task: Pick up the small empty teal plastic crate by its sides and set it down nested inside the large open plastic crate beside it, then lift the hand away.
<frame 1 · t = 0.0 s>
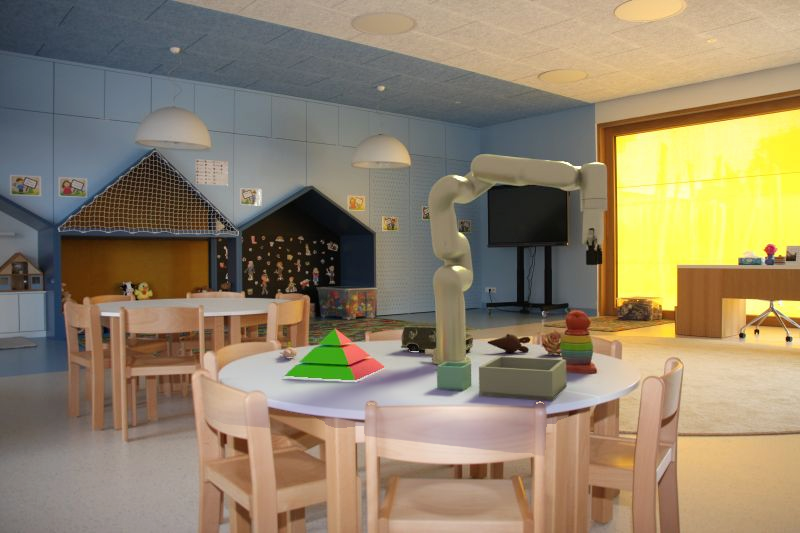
hand: (594, 264, 190), 31 cm above the table, tool pointing down, fingers open, 9 cm apart
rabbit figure: (289, 359, 224), on the table
toy van: (437, 352, 234), on the table
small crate: (454, 387, 171), on the table
icecream: (509, 353, 228), on the table
big crate: (524, 390, 165), on the table
stacking bear: (578, 370, 193), on the table
pyramid toy: (335, 376, 194), on the table
flower: (554, 355, 221), on the table
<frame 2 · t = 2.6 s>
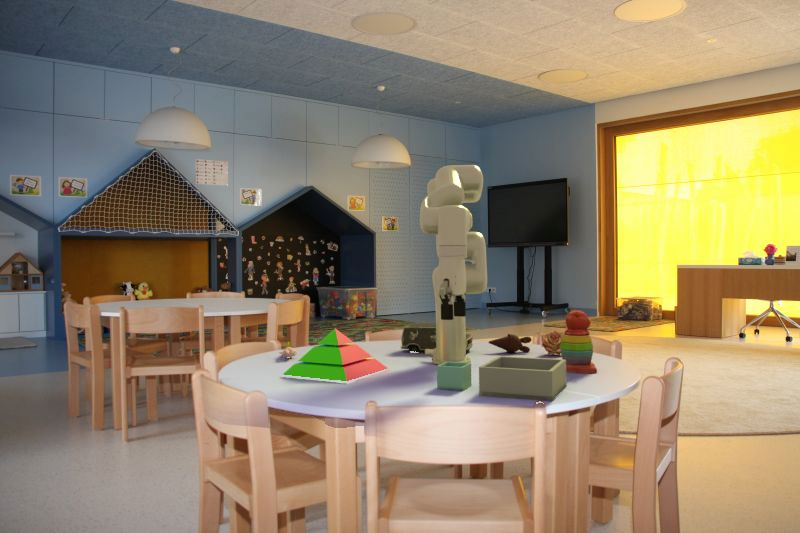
hand: (453, 318, 170), 18 cm above the table, tool pointing down, fingers open, 9 cm apart
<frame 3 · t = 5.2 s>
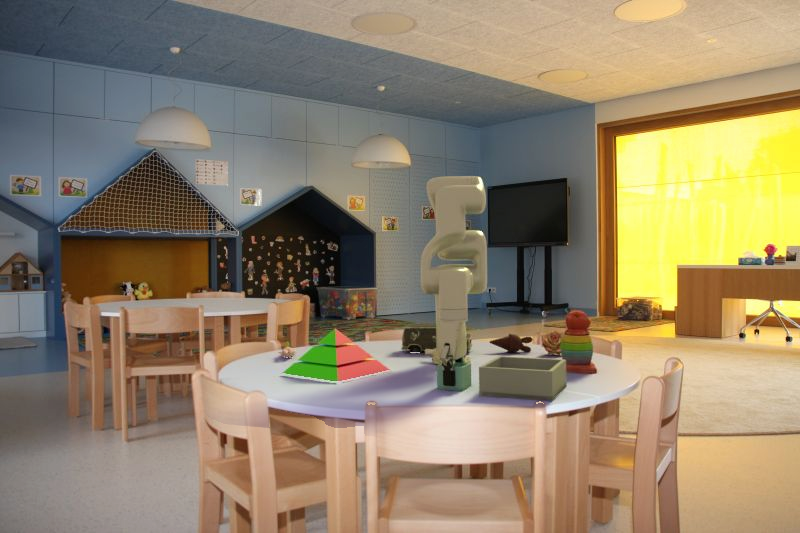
hand: (454, 382, 171), 1 cm above the table, tool pointing down, fingers closed on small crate, 7 cm apart
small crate: (454, 387, 171), on the table, touching gripper
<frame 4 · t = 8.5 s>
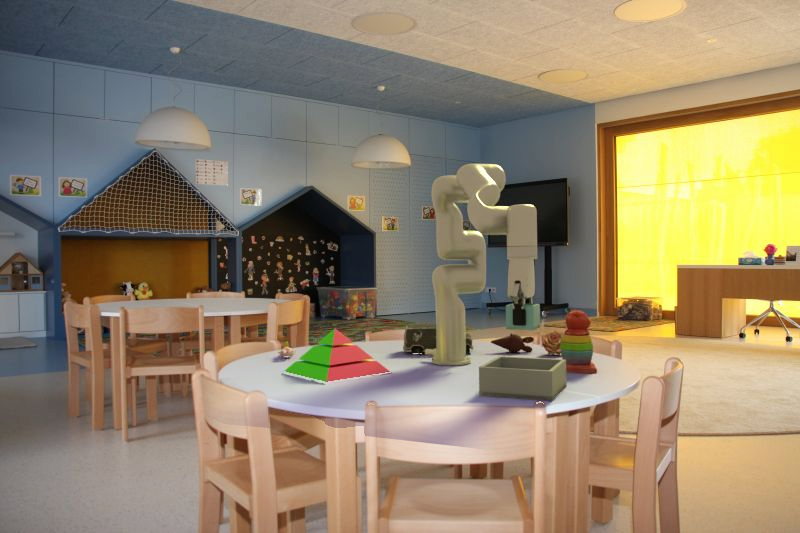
hand: (523, 323, 165), 17 cm above the table, tool pointing down, fingers closed on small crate, 7 cm apart
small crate: (523, 328, 165), point 16 cm above the table, touching gripper
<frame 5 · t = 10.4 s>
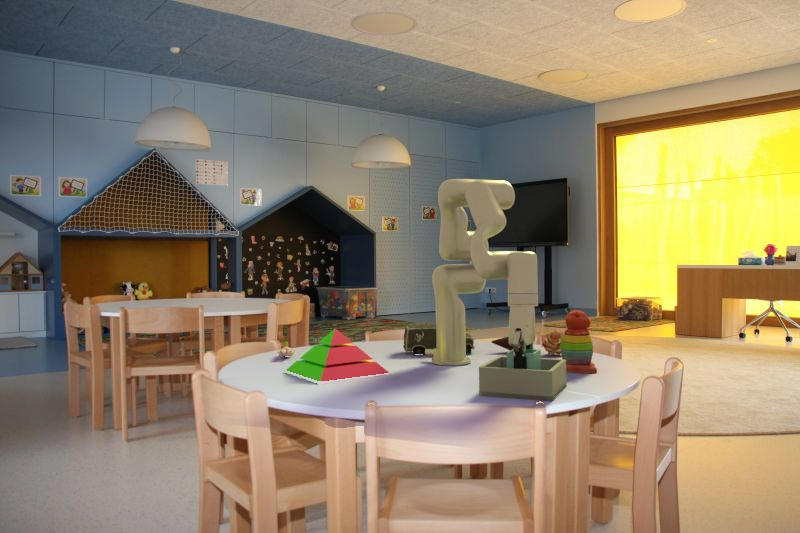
hand: (524, 369, 165), 5 cm above the table, tool pointing down, fingers closed on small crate, 7 cm apart
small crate: (524, 374, 165), point 4 cm above the table, touching gripper
when the fingers open (4 cm above the table, at t = 11.8 s): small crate drops 1 cm, resting on big crate.
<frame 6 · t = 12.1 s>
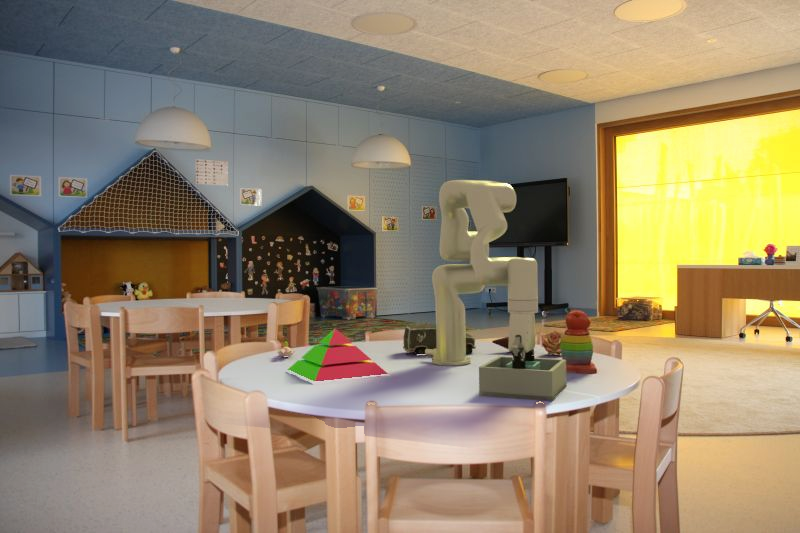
hand: (523, 373, 165), 4 cm above the table, tool pointing down, fingers open, 9 cm apart
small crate: (523, 386, 165), point 1 cm above the table, touching big crate
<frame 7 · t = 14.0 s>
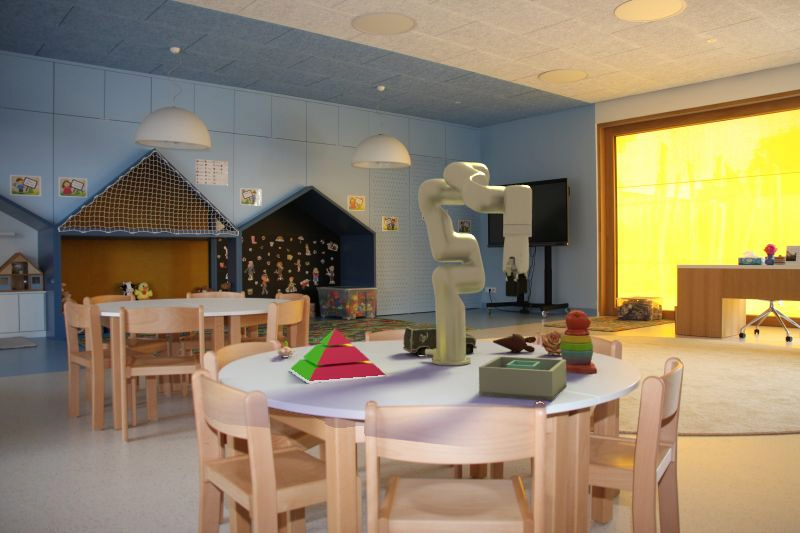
hand: (516, 294, 176), 24 cm above the table, tool pointing down, fingers open, 9 cm apart
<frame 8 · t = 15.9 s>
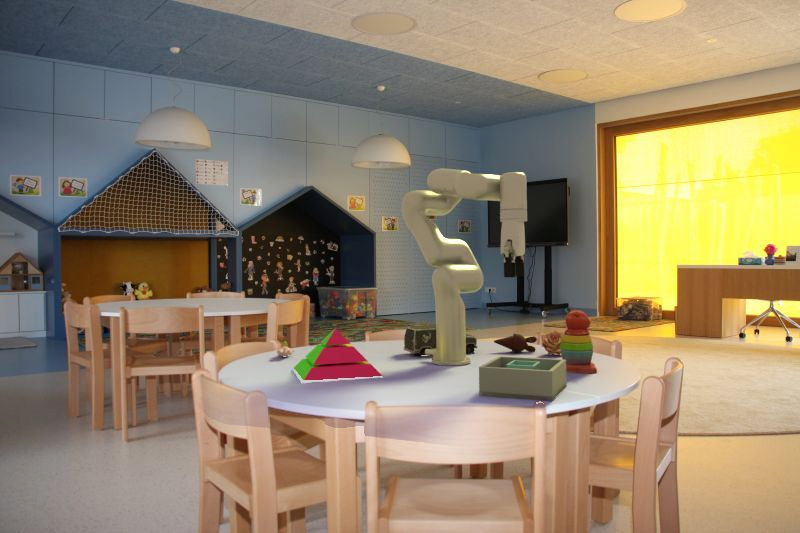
hand: (514, 276, 185), 28 cm above the table, tool pointing down, fingers open, 9 cm apart
at the end: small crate inside the target area on the big crate (0.1 cm from its centre), point 1.0 cm above the big crate's base; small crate tilted 0°; the gripper is holding nothing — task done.
